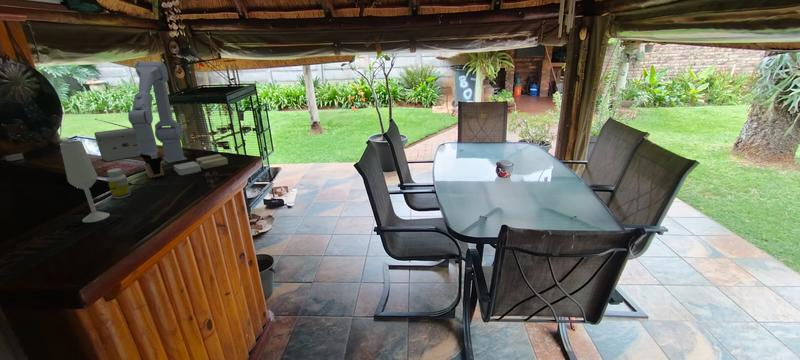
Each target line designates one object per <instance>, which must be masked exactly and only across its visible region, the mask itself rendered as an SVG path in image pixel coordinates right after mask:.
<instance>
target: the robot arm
mask: <svg viewBox="0 0 800 360" xmlns="http://www.w3.org/2000/svg"><path fill="white" fill-rule="evenodd" d="M134 67H135V72H136V75H137V76H138V78H139V83H138V92H136V93H135V94H134V98H133V106H132V109H131V110H130V111H129V112H128V113H127V115H128V116H127V119H128V122H129V123H130V124H131V128H133V129H135V132H136V136H137V140H138V143H139V147H140V151H138V152H137V153H138V154H140V156H139V157H141V158H142V159H143V161H144V164H146V163H148V164H149V165H150V167H151V170H152V172H153V173H154V175H156V174H160V165H161V164H162V160H164V161H165V162H166V163H168V164H169V163H174V162H179V161H181V162H182V161H185V160H186V161H187V160H188V158H187V157H186V156H185V155H184V151H183V146H182V142H181V140H183V138H184V131H183V128H182V125H181V123H180V122H178V121H177V120H174V118H173V116H172V115H173V114H172V110H171V106H170V105H171V104H170V99H169V94H168V90H167V82H169V74H168V73H169V72H168V67H167V66H166V64H165V63H164V62H163V61H161V60H160V61H136V63H135V66H134ZM152 88H153V94H154V99H155V103H156V109H157V112H158V113H157V114H158V118H159V121H158V122H156V123H155V125H154V129H153V126H152V123H153V121H154V116H153V110H152V105H153V104H152V103H153V97H152V95H151V91H152ZM156 140H158V141H159V142H160V144H161V148H162V151H163V156H164V157H162V156H158V153H159V152H160V151H159V148H158V145H157V142H156Z"/></svg>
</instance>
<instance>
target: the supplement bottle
mask: <svg viewBox="0 0 800 360" xmlns="http://www.w3.org/2000/svg"><path fill="white" fill-rule="evenodd" d="M106 172H107V176H108V177H107V178H106V182H107V185H108V186H109V190H110V193H111V196H112V198H114V199H116V200H117V199H124V198H127V197H129V196H131V195H132V191H131V189H130V185H129V182H128V178H127V176H126V175H125V174H124V173H123V170H122V168H119V167H118V168H111V169H108V170H107V171H106Z"/></svg>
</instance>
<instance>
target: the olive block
mask: <svg viewBox="0 0 800 360" xmlns="http://www.w3.org/2000/svg"><path fill="white" fill-rule="evenodd" d="M228 161H229V160H228V158H227V157H225V156H223V155H221V154H219V153H217V154H212V155H207V156H201V157H197V158H195V162H196V163H197V164H199V165H200V168H201V169H204V170H205V169H210V168H215V167H221V166H225V165H229V162H228Z"/></svg>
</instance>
